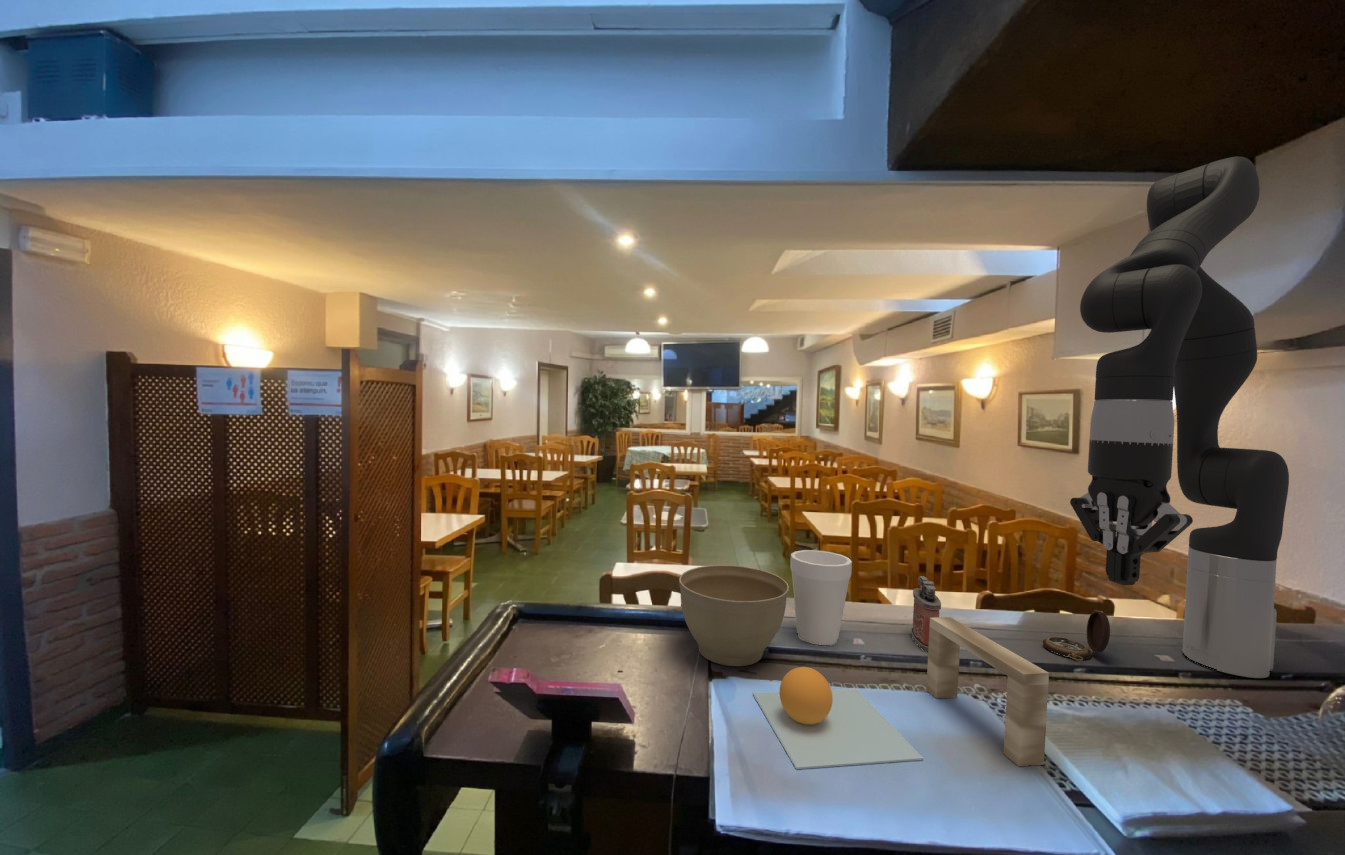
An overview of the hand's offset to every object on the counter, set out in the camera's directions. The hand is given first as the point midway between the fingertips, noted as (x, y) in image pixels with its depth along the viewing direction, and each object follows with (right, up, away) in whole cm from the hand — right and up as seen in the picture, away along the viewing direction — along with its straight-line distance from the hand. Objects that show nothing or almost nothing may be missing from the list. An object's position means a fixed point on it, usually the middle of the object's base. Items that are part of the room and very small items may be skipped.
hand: (1121, 582), depth 63 cm
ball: (-38, -13, -2) cm, 40 cm away
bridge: (-18, -16, -1) cm, 24 cm away
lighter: (-13, -16, +22) cm, 30 cm away
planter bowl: (-45, -15, +15) cm, 50 cm away
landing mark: (-36, -16, -2) cm, 39 cm away
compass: (+9, -17, +19) cm, 27 cm away
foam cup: (-30, -16, +22) cm, 41 cm away
